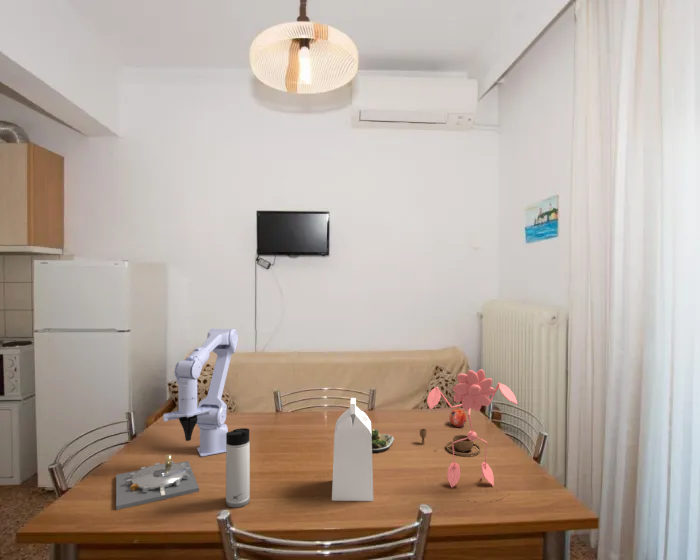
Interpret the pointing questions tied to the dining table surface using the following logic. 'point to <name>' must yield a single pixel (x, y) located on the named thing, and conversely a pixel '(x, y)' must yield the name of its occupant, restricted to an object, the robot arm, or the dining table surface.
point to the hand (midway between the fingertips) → (188, 439)
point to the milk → (352, 457)
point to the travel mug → (237, 468)
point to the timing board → (138, 497)
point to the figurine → (472, 394)
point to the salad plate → (380, 441)
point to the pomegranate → (458, 417)
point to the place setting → (456, 444)
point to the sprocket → (159, 476)
